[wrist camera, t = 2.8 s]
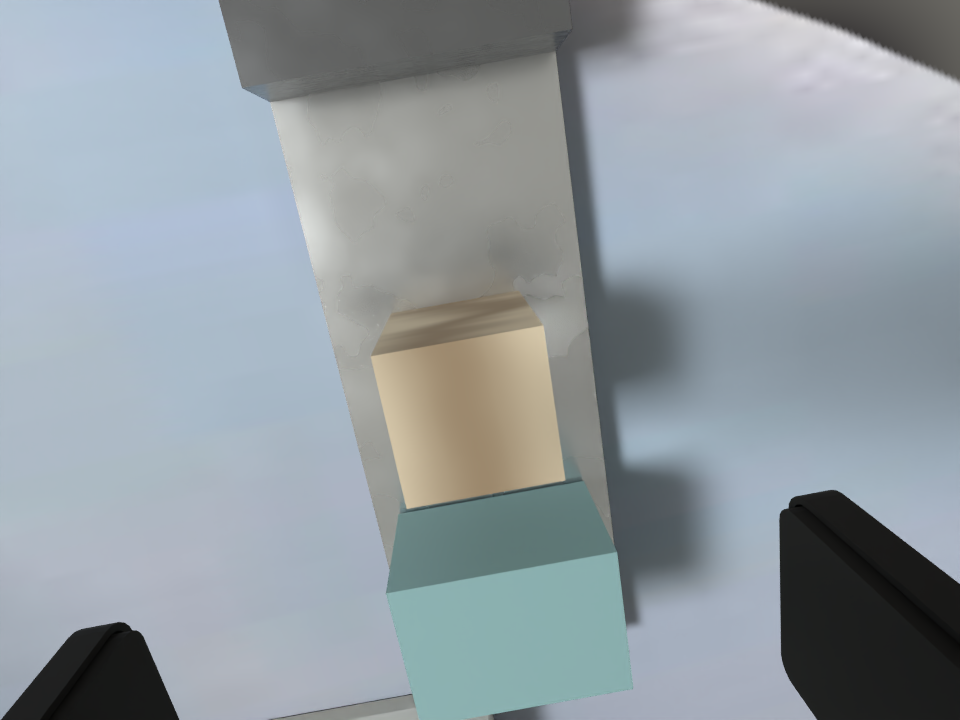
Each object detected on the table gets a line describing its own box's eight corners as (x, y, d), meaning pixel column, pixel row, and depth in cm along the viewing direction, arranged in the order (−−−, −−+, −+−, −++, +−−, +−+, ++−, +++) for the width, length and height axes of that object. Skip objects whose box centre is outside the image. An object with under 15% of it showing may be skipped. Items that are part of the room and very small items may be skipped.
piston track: (540, -19, 20) (561, -69, 16) (618, 624, 28) (645, 692, 24) (261, 31, 20) (216, -7, 16) (419, 660, 28) (414, 734, 24)
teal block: (584, 480, 24) (617, 551, 19) (599, 597, 26) (633, 688, 21) (398, 514, 24) (386, 593, 19) (426, 628, 26) (421, 727, 21)
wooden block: (518, 290, 22) (543, 325, 16) (537, 409, 23) (565, 480, 18) (391, 313, 22) (370, 356, 16) (416, 431, 23) (406, 508, 18)
